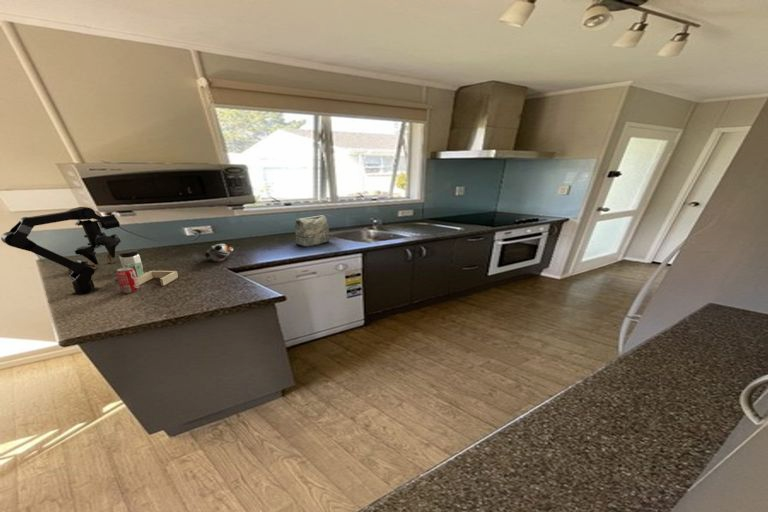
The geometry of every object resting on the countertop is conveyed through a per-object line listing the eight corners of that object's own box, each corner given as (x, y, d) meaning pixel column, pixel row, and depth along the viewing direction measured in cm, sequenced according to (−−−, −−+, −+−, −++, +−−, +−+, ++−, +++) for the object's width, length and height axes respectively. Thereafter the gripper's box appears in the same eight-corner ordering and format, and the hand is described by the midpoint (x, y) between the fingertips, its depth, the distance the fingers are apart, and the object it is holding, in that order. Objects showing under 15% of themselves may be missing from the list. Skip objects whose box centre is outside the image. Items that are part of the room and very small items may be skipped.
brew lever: (127, 283, 150) (124, 280, 148) (117, 282, 150) (114, 279, 148) (141, 266, 158) (139, 263, 157) (132, 266, 158) (129, 263, 157)
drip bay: (163, 285, 150) (162, 278, 149) (136, 285, 150) (134, 278, 149) (178, 277, 161) (176, 271, 160) (152, 277, 161) (150, 270, 160)
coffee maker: (137, 283, 153) (133, 267, 150) (118, 282, 153) (114, 267, 150) (154, 274, 165) (150, 260, 162) (137, 274, 164) (133, 260, 162)
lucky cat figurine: (227, 254, 200) (232, 238, 195) (230, 265, 193) (236, 249, 188) (202, 252, 190) (207, 236, 184) (205, 264, 183) (211, 247, 177)
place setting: (69, 269, 170) (66, 260, 168) (114, 261, 183) (111, 253, 182) (68, 277, 158) (64, 267, 156) (116, 269, 172) (113, 259, 170)
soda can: (138, 287, 149) (132, 265, 145) (141, 290, 144) (135, 268, 141) (120, 291, 143) (113, 269, 140) (123, 295, 139) (116, 272, 135)
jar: (122, 274, 164) (116, 254, 161) (124, 269, 171) (119, 250, 167) (142, 271, 169) (137, 251, 165) (143, 267, 176) (139, 248, 172)
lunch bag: (321, 238, 248) (320, 213, 241) (332, 242, 236) (331, 216, 229) (293, 243, 231) (290, 216, 225) (304, 248, 219) (301, 220, 212)
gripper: (90, 237, 133) (103, 268, 138) (125, 226, 150) (135, 254, 156) (67, 238, 133) (81, 268, 139) (104, 226, 150) (115, 254, 156)
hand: (105, 260), depth 147 cm, fingers open, 9 cm apart
